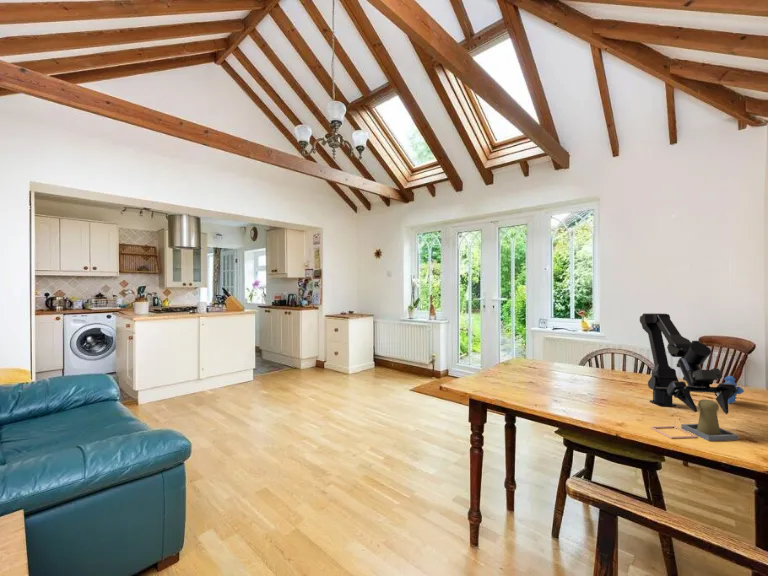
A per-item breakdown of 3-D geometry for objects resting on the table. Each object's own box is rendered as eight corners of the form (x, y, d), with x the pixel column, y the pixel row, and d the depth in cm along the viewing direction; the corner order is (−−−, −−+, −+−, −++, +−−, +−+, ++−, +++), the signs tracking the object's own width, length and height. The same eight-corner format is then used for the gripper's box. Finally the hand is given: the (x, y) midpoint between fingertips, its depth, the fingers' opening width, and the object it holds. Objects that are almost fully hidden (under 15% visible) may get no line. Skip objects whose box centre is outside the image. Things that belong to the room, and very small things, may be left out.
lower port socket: (681, 428, 128) (681, 424, 128) (709, 427, 128) (709, 423, 128) (708, 441, 118) (708, 436, 118) (738, 439, 118) (738, 435, 118)
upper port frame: (649, 428, 129) (649, 426, 129) (674, 427, 129) (674, 425, 129) (671, 438, 120) (671, 437, 120) (697, 437, 120) (697, 436, 120)
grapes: (746, 409, 146) (746, 379, 146) (723, 406, 150) (723, 377, 150) (742, 401, 155) (742, 373, 155) (720, 398, 159) (720, 371, 159)
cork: (703, 428, 127) (703, 396, 127) (724, 434, 121) (724, 402, 121) (692, 430, 125) (692, 399, 125) (713, 437, 119) (713, 404, 119)
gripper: (670, 358, 129) (688, 399, 118) (733, 360, 124) (758, 403, 114) (659, 375, 137) (675, 414, 126) (719, 377, 132) (740, 418, 121)
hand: (711, 412), depth 122 cm, fingers open, 8 cm apart
